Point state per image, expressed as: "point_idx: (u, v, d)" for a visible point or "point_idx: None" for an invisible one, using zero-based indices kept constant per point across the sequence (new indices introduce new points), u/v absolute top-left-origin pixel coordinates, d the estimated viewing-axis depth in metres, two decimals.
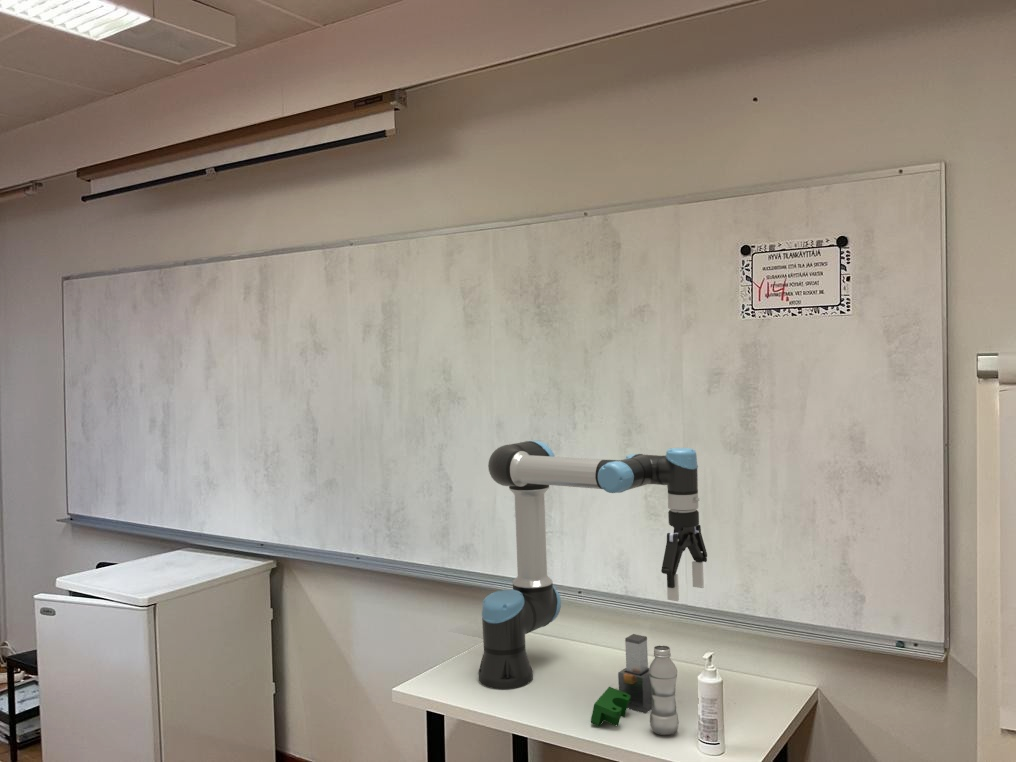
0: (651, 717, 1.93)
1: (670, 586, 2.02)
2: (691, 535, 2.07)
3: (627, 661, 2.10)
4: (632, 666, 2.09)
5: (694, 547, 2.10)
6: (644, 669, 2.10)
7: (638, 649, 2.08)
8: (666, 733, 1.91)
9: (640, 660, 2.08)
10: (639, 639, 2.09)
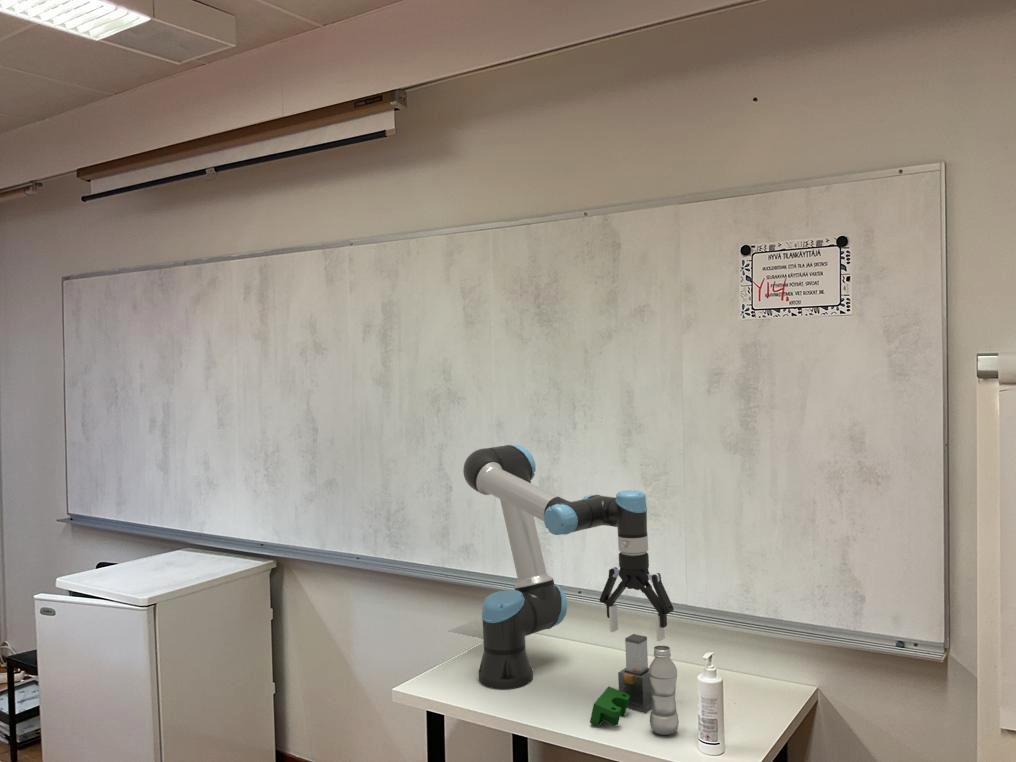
0: (651, 717, 1.93)
1: None
2: None
3: (627, 661, 2.10)
4: (632, 666, 2.09)
5: None
6: (644, 669, 2.10)
7: (638, 649, 2.08)
8: (666, 733, 1.91)
9: (640, 660, 2.08)
10: (639, 639, 2.09)
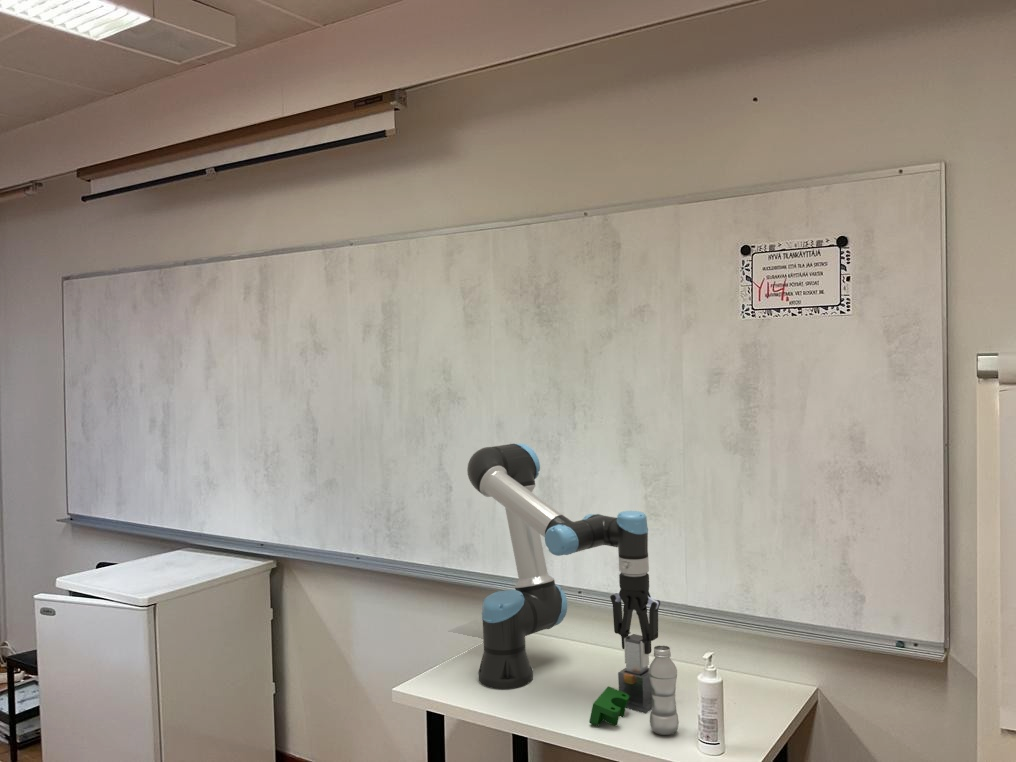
0: (651, 717, 1.93)
1: None
2: None
3: (627, 661, 2.10)
4: (632, 666, 2.09)
5: None
6: (644, 669, 2.10)
7: (638, 649, 2.08)
8: (666, 733, 1.91)
9: (640, 660, 2.08)
10: (639, 639, 2.09)
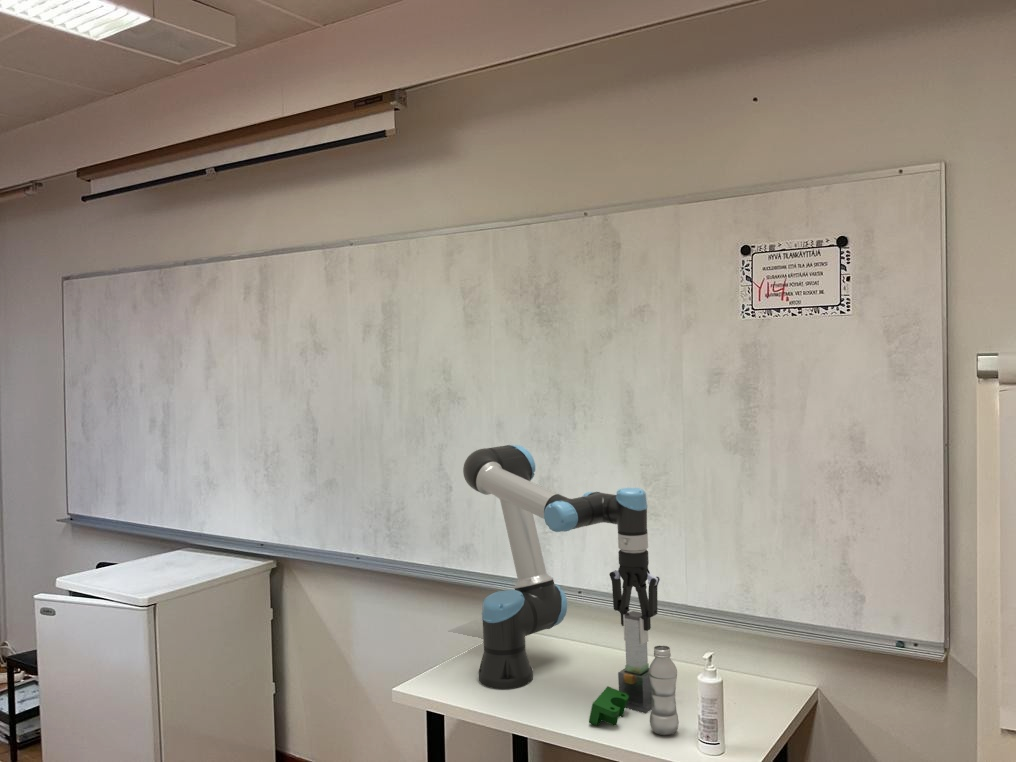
0: (651, 717, 1.93)
1: None
2: None
3: (626, 638, 2.10)
4: (631, 643, 2.09)
5: None
6: (643, 646, 2.10)
7: (637, 625, 2.08)
8: (666, 733, 1.91)
9: (639, 637, 2.08)
10: (638, 616, 2.09)
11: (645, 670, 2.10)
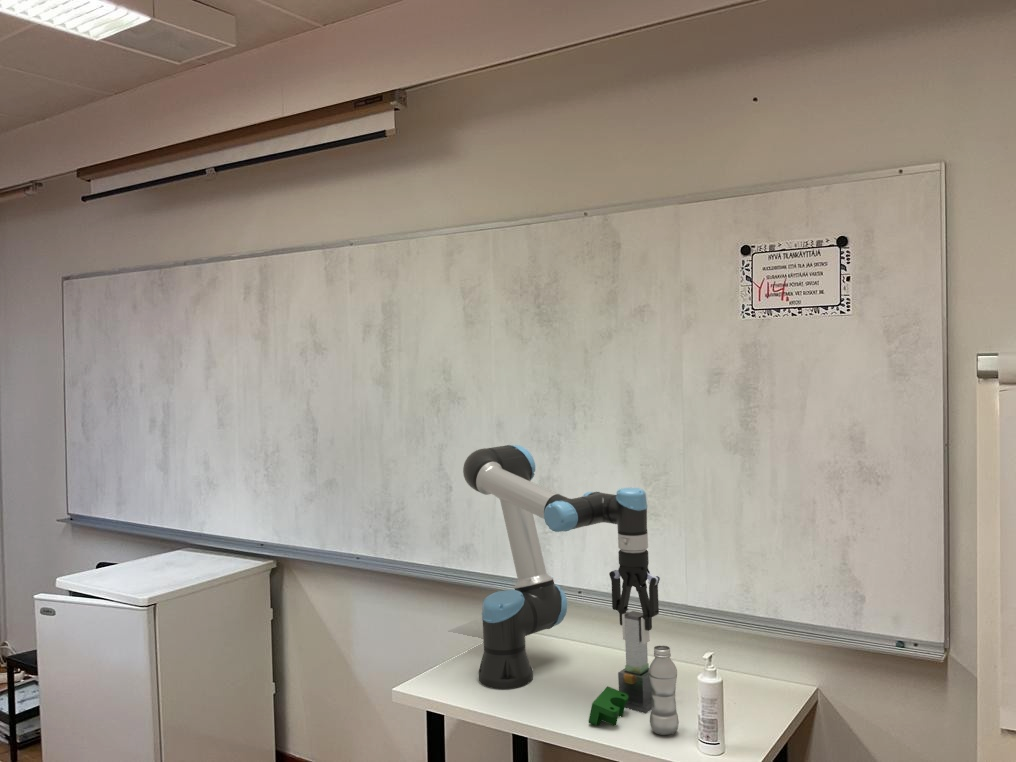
0: (651, 717, 1.93)
1: None
2: None
3: (626, 638, 2.10)
4: (631, 643, 2.09)
5: None
6: (643, 646, 2.10)
7: (637, 625, 2.08)
8: (666, 733, 1.91)
9: (639, 637, 2.08)
10: (638, 616, 2.09)
11: (645, 670, 2.10)
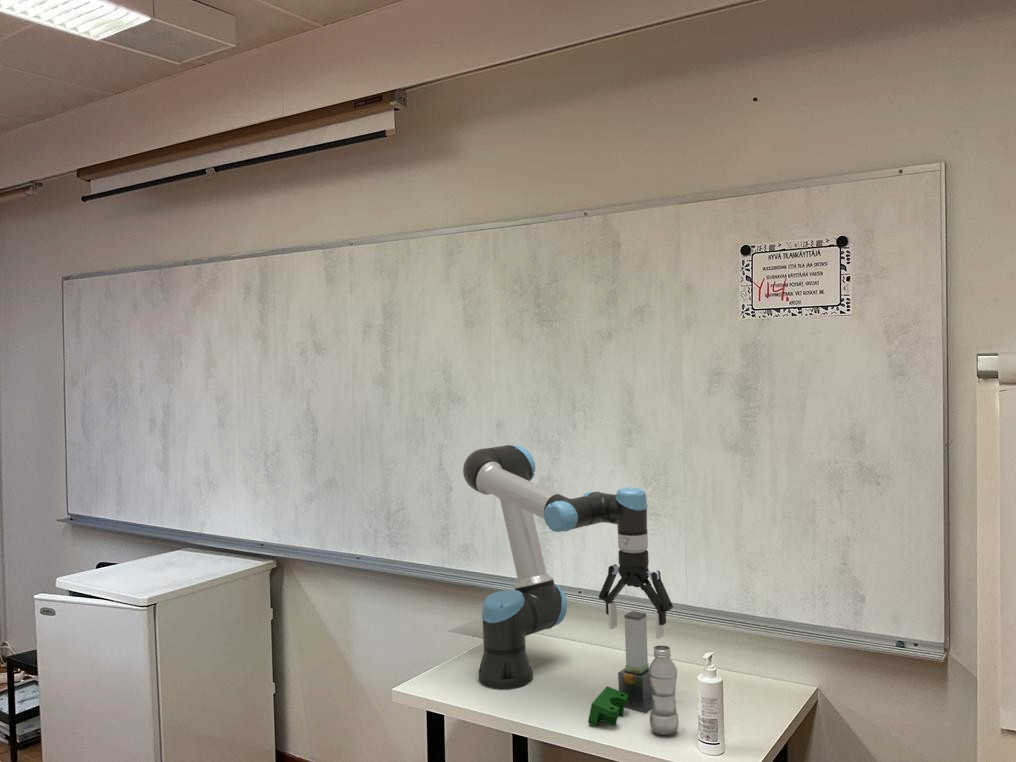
0: (651, 717, 1.93)
1: None
2: None
3: (626, 638, 2.10)
4: (631, 643, 2.09)
5: None
6: (643, 646, 2.10)
7: (637, 625, 2.08)
8: (666, 733, 1.91)
9: (639, 637, 2.08)
10: (638, 616, 2.09)
11: (645, 670, 2.10)
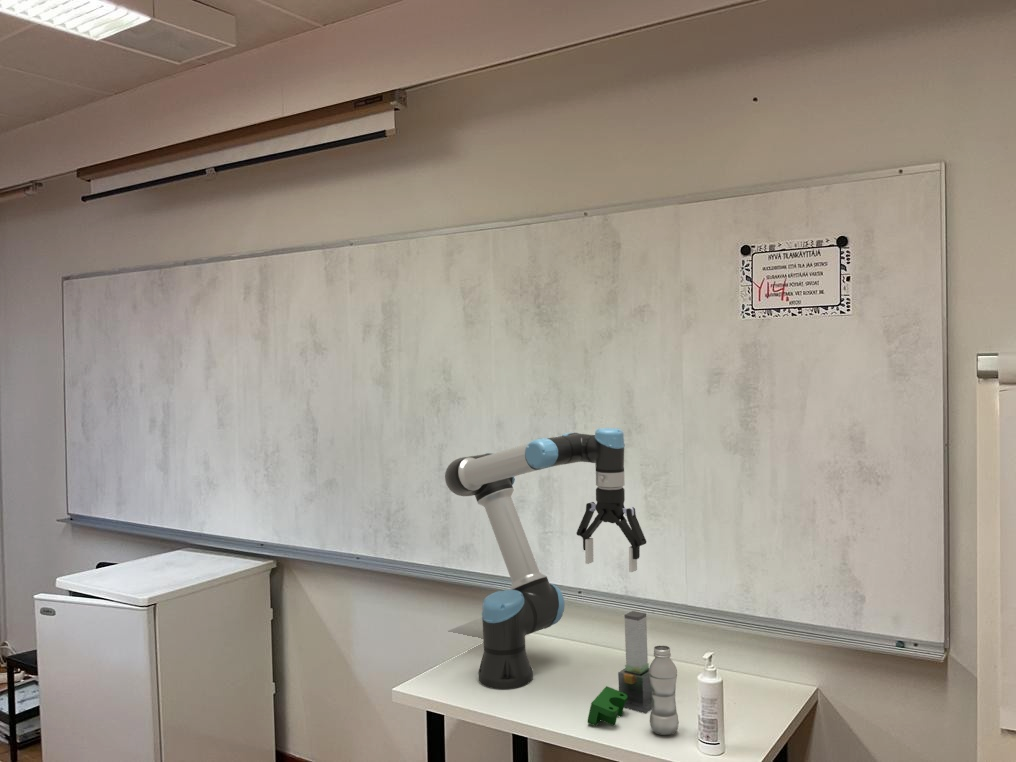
0: (651, 717, 1.93)
1: None
2: None
3: (626, 638, 2.10)
4: (631, 643, 2.09)
5: None
6: (643, 646, 2.10)
7: (637, 625, 2.08)
8: (666, 733, 1.91)
9: (639, 637, 2.08)
10: (638, 616, 2.09)
11: (645, 670, 2.10)
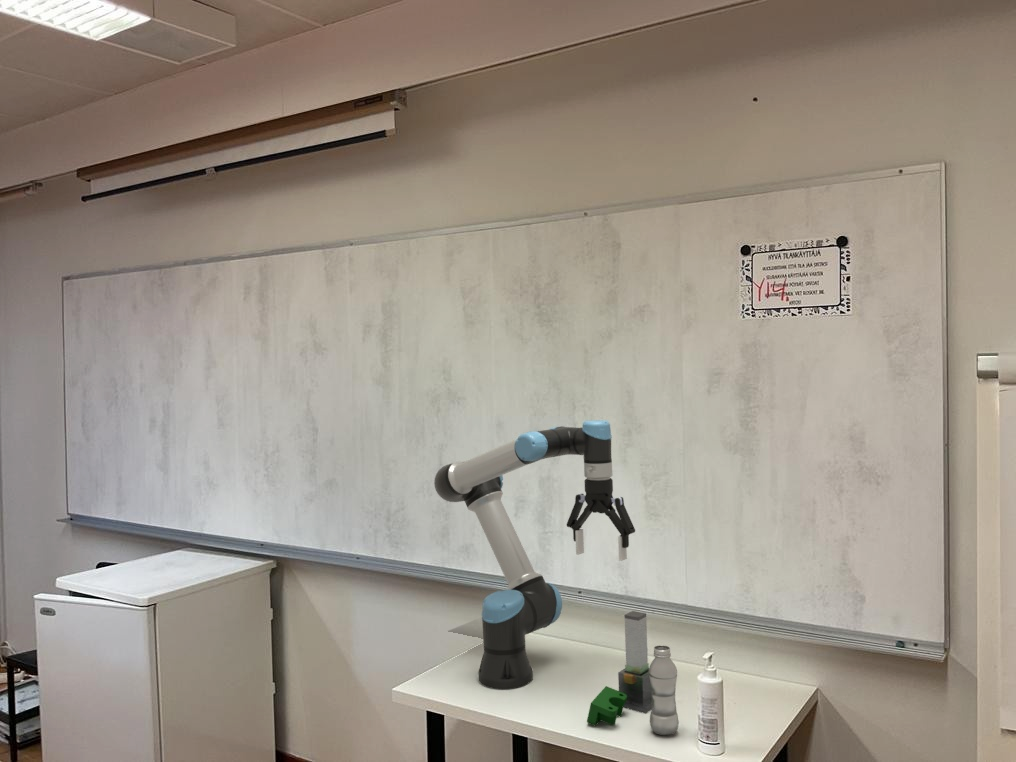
0: (651, 717, 1.93)
1: None
2: None
3: (626, 638, 2.10)
4: (631, 643, 2.09)
5: None
6: (643, 646, 2.10)
7: (637, 625, 2.08)
8: (666, 733, 1.91)
9: (639, 637, 2.08)
10: (638, 616, 2.09)
11: (645, 670, 2.10)
